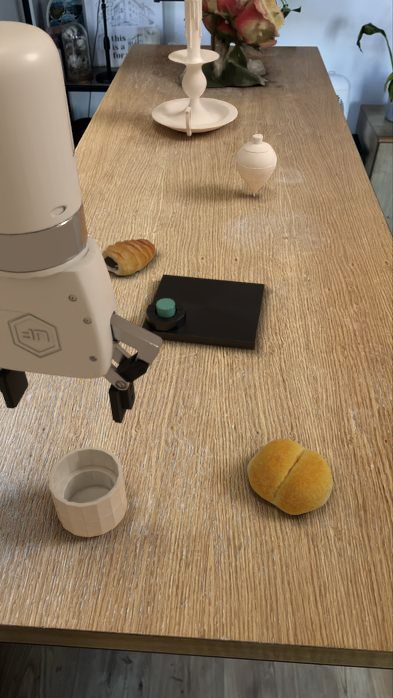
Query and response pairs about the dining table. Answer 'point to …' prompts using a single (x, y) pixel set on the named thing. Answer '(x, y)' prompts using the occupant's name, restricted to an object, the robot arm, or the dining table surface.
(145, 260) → the pastry
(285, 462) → the bread roll
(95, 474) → the beige cup
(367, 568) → the dining table surface
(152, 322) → the scale
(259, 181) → the spinning top
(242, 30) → the rose bouquet
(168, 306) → the button
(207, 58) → the candlestick
